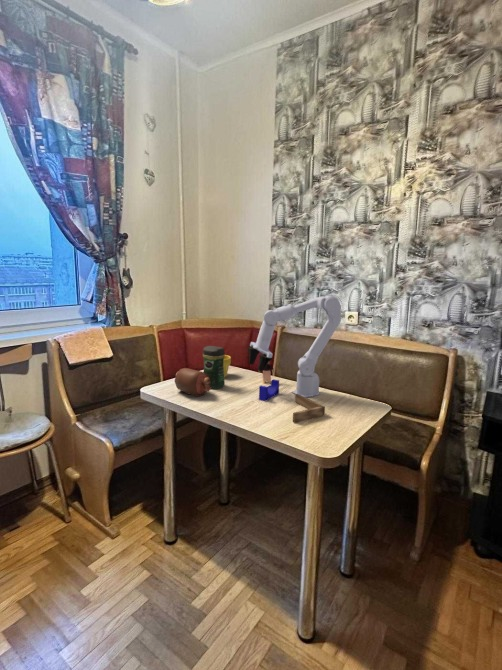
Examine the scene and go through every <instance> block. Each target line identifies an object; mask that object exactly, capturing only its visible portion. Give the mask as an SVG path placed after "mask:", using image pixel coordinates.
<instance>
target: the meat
mask: <svg viewBox="0 0 502 670" xmlns="http://www.w3.org/2000/svg"><path fill="white" fill-rule="evenodd" d="M174 384H175V387H176V388H177V389H178V390H180V391H182V392H183V393H185V394H188V395H191V396H196V397H202V396H204V395H206V394H207V393H208V392H210V391H211V389H212V388H210V384H211V381H210V378H209V375H207V374H206V373H204V371H200V370H196V369H192V368H187V367H184V368H180V369H179V370H178V371H177V372H176V374H175V378H174Z"/></svg>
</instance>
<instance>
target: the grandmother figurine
mask: <svg viewBox="0 0 502 670" xmlns="http://www.w3.org/2000/svg"><path fill="white" fill-rule="evenodd" d="M257 371H258V370H257ZM271 371H272V372H271ZM258 372H259V373H260V372H261V371H258ZM275 372H276V371H275V369H274V368H273V366H272V365H271V364H270V362H269V363H268V364H267V365H266V366H265V368H264V370H263V371H262V382H261V383H262V384H265V385H266V384H268V385H271V381H272V375H271V374H275Z"/></svg>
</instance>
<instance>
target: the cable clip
mask: <svg viewBox="0 0 502 670" xmlns="http://www.w3.org/2000/svg"><path fill="white" fill-rule="evenodd" d="M258 389H259V390H258V400H259V401H261V402H267V401H268V400H271V399H272V398H273V397H276V395H278V394H280V380H278V379H274V378H273V379H271V384H269V385H268V386H266V385H260V386H259V388H258Z"/></svg>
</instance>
